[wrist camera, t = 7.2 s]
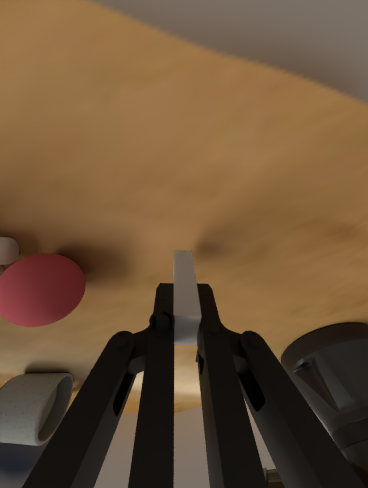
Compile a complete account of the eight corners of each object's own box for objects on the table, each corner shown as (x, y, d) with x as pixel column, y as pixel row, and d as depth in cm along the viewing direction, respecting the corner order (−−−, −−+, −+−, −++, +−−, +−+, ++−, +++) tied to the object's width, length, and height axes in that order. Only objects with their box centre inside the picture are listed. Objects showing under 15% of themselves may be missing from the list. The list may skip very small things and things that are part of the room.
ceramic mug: (11, 364, 26) (-45, 439, 20) (66, 363, 27) (29, 436, 20) (38, 392, 32) (2, 458, 25) (83, 391, 32) (59, 455, 25)
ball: (45, 258, 18) (96, 249, 17) (49, 315, 18) (102, 309, 17) (-33, 259, 12) (38, 246, 12) (-31, 344, 12) (44, 337, 11)
